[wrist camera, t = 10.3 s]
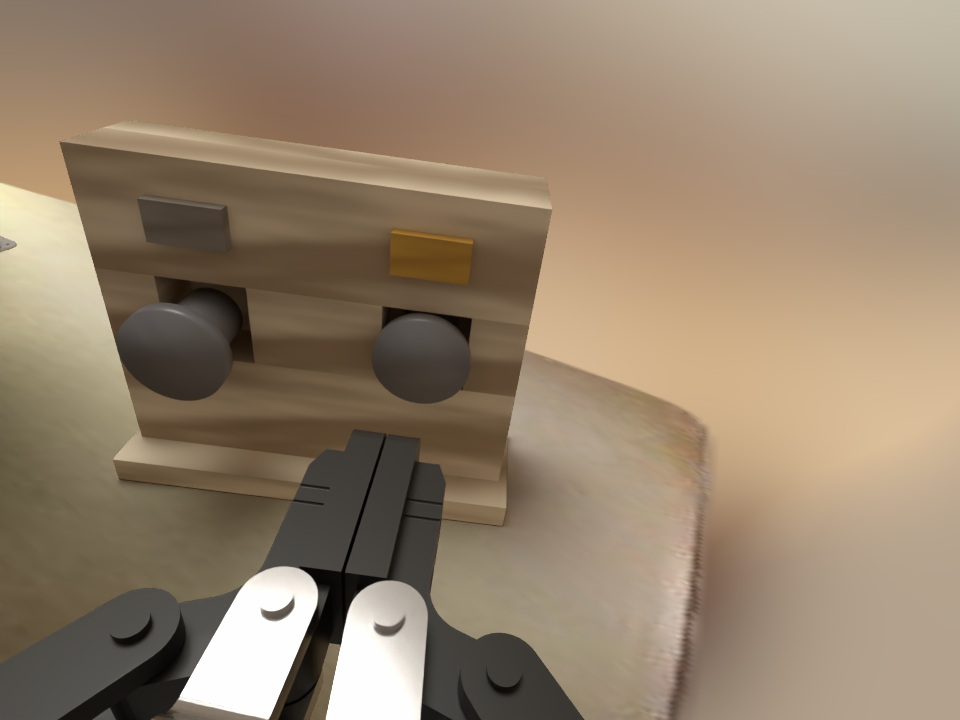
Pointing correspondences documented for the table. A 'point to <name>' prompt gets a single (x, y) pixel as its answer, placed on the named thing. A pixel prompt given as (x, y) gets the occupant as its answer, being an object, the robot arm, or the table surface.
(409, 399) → the grey rounded knob
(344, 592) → the robot arm
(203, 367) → the grey button
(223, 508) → the table surface
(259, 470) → the birch console
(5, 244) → the emergency button
